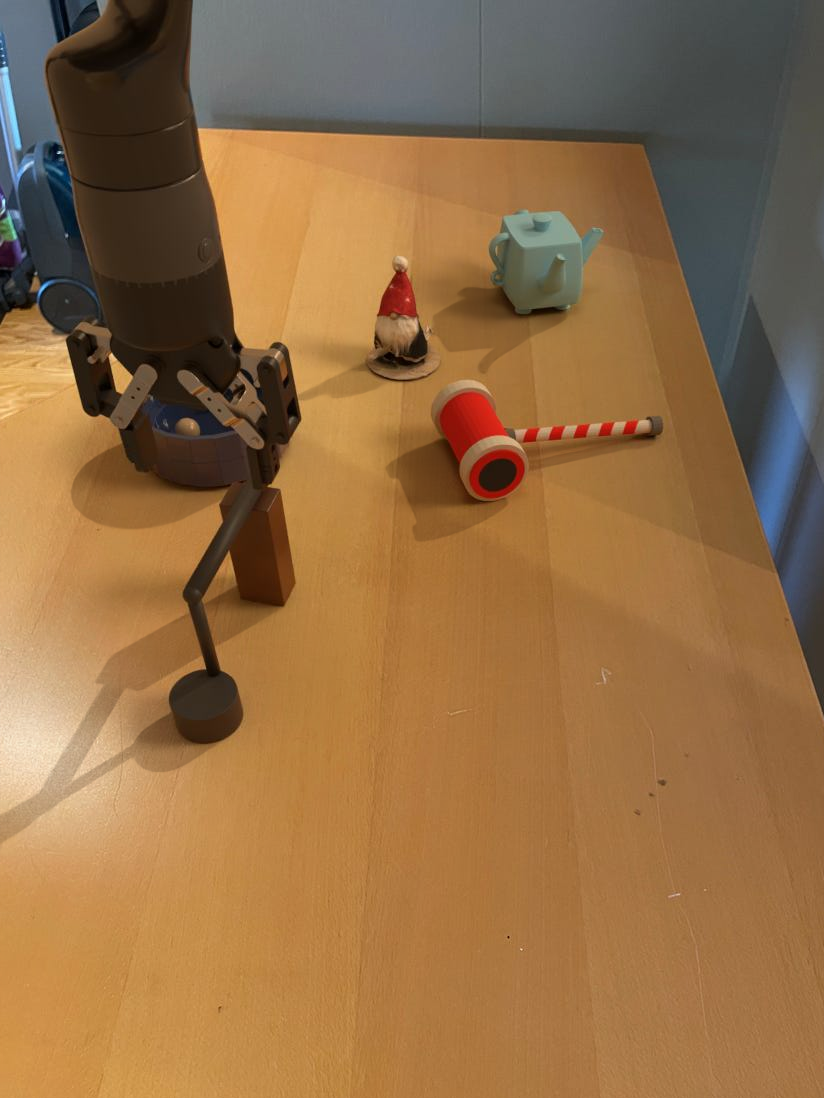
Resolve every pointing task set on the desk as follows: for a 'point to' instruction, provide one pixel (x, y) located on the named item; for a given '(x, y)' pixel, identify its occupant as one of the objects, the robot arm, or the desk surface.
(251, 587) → the upright brown pillar
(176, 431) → the bead
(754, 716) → the desk surface
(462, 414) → the toy hammer
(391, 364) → the figurine
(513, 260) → the teapot
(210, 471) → the bowl
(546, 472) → the desk surface
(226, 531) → the ladle
